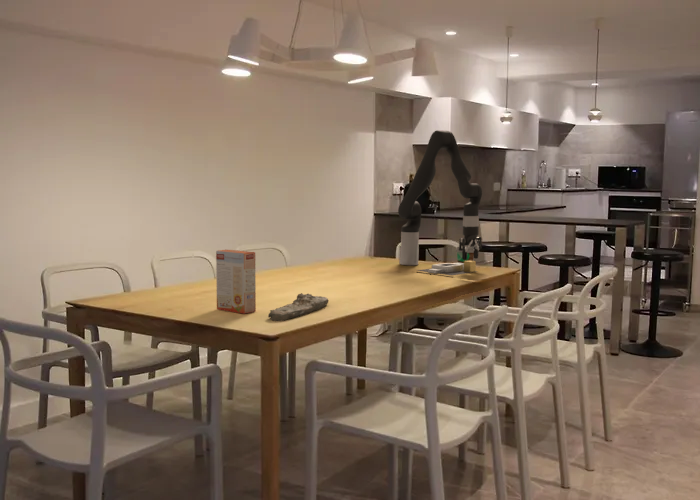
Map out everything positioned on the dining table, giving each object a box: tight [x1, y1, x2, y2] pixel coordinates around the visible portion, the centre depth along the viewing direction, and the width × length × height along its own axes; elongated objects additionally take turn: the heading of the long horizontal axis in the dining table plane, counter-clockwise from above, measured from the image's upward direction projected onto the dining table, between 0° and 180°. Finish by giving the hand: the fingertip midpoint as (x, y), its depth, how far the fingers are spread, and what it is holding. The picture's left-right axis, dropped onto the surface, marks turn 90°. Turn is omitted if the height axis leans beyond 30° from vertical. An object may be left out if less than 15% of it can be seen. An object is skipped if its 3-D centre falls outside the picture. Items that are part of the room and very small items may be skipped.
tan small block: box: [464, 260, 477, 273], centre depth 349 cm, size 4×4×5 cm
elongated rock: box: [268, 293, 329, 322], centre depth 250 cm, size 35×5×10 cm
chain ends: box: [427, 262, 464, 275], centre depth 350 cm, size 9×22×3 cm, turn 133°
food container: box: [455, 246, 475, 263], centre depth 373 cm, size 12×6×10 cm, turn 25°
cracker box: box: [215, 249, 257, 315], centre depth 250 cm, size 14×6×21 cm, turn 51°
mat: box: [415, 267, 479, 278], centre depth 350 cm, size 22×20×1 cm
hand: (470, 259), depth 348 cm, fingers open, 8 cm apart
